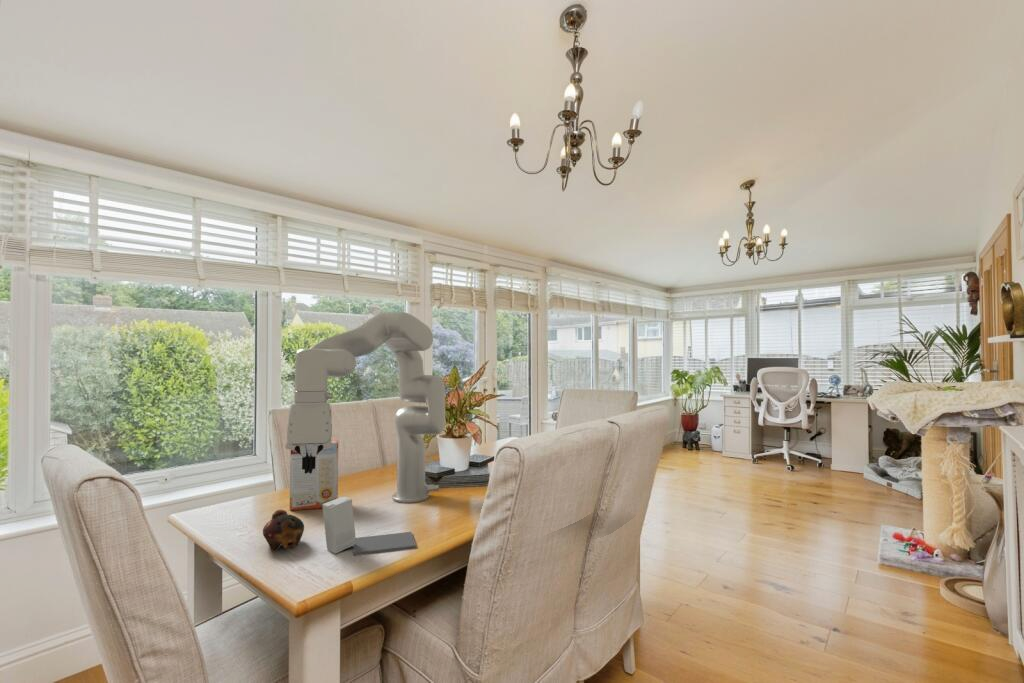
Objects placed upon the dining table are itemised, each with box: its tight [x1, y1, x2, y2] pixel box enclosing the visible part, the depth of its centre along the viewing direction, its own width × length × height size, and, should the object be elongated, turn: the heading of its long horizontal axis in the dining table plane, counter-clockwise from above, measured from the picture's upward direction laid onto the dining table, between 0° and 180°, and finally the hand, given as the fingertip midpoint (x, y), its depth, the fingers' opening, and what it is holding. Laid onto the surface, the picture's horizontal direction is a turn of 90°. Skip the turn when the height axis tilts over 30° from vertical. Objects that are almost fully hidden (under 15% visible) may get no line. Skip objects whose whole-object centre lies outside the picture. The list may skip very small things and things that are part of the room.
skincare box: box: [322, 496, 357, 554], centre depth 119 cm, size 6×4×12 cm
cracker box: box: [289, 439, 339, 511], centre depth 154 cm, size 14×6×21 cm, turn 104°
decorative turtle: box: [262, 509, 305, 551], centre depth 122 cm, size 10×15×8 cm, turn 43°
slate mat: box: [353, 531, 417, 556], centre depth 123 cm, size 15×10×1 cm, turn 109°
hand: (308, 472), depth 118 cm, fingers closed
